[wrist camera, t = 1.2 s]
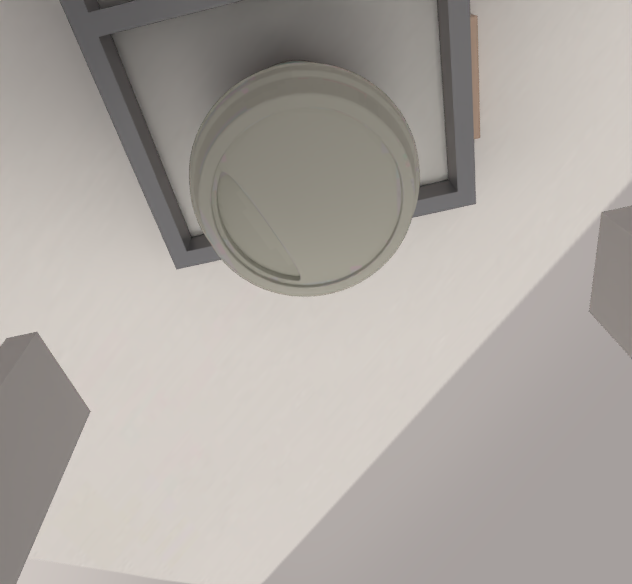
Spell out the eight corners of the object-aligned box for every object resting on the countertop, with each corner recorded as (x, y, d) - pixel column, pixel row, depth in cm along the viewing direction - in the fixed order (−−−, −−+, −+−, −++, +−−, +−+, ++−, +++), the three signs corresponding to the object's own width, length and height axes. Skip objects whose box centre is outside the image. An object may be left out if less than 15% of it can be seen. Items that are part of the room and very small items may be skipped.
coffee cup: (212, 26, 24) (164, 68, 14) (383, 33, 25) (454, 77, 15) (222, 191, 29) (193, 309, 19) (366, 193, 29) (412, 309, 19)
